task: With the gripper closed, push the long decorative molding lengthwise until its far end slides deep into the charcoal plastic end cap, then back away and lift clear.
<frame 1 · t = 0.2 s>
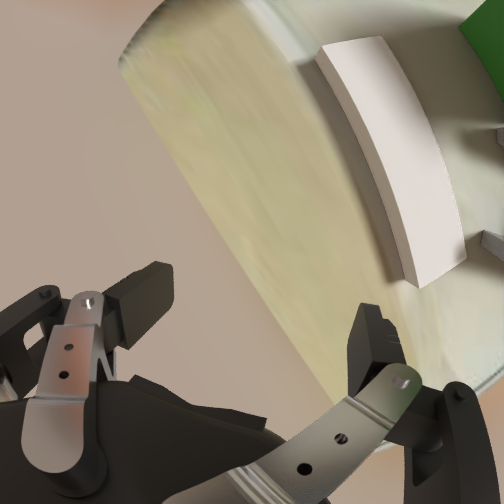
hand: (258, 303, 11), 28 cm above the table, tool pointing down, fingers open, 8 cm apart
decorative molding: (401, 156, 32), on the table
hardback book: (499, 69, 21), on the table
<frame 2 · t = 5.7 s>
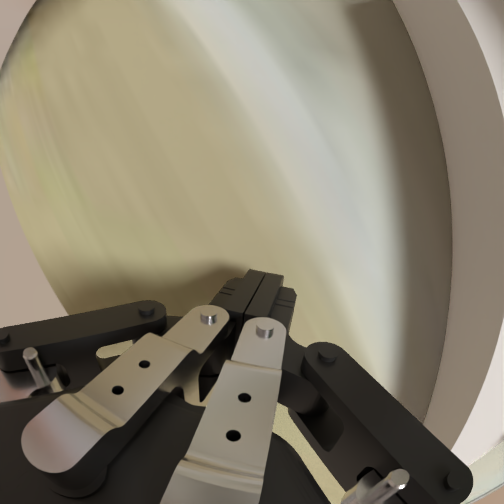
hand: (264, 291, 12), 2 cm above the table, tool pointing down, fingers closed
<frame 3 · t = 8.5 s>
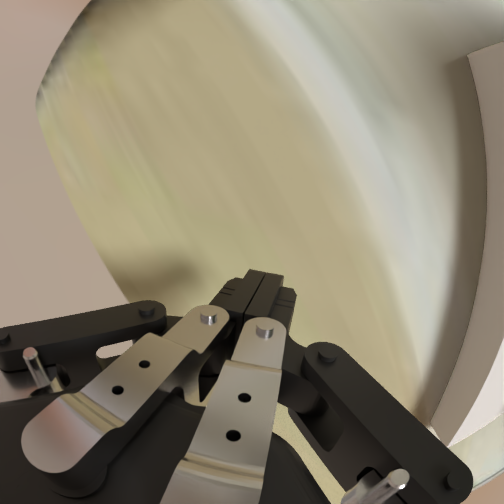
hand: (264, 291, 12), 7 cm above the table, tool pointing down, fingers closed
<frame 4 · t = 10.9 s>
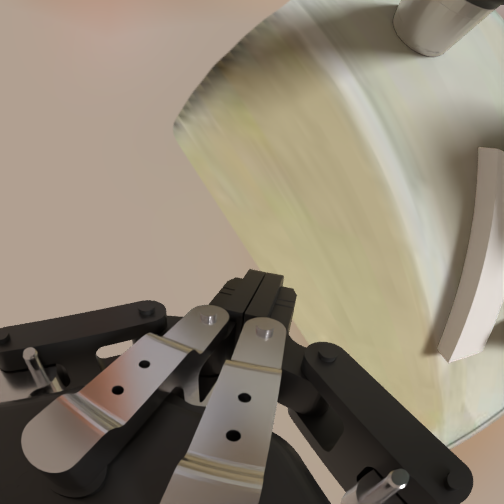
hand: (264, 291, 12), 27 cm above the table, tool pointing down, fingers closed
decorative molding: (486, 258, 32), on the table
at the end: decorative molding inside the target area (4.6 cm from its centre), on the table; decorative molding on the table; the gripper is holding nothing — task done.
